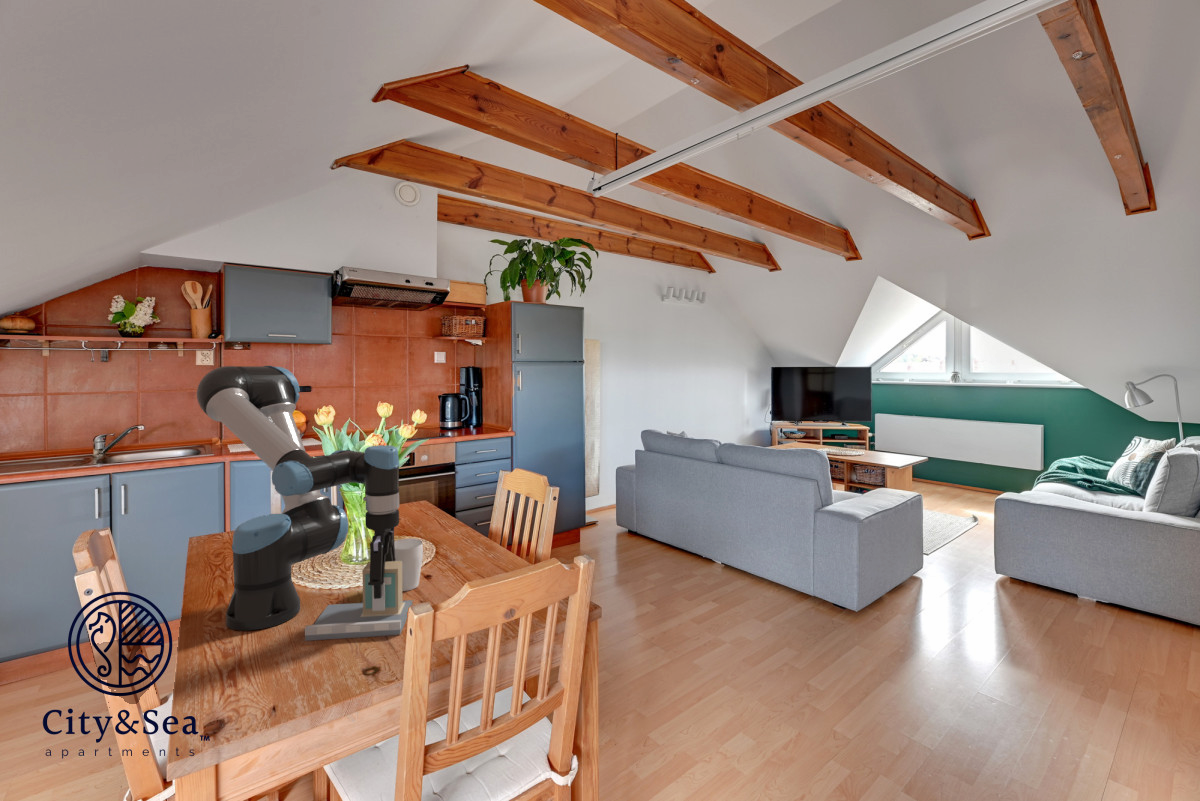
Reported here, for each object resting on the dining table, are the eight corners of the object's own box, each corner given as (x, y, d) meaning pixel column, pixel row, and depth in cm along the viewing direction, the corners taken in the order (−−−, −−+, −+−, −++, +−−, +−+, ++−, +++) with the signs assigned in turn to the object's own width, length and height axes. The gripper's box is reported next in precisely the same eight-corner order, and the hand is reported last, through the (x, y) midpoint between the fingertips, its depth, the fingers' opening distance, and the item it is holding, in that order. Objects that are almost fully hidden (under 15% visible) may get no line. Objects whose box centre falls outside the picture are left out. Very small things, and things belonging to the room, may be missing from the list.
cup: (411, 594, 140) (411, 550, 139) (381, 591, 142) (380, 547, 141) (429, 581, 149) (429, 539, 148) (400, 578, 150) (400, 537, 150)
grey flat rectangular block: (304, 641, 116) (304, 628, 116) (328, 609, 131) (328, 597, 131) (400, 635, 119) (399, 622, 119) (412, 604, 134) (412, 593, 134)
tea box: (362, 615, 125) (362, 570, 125) (368, 605, 130) (368, 562, 130) (398, 613, 127) (397, 569, 126) (402, 603, 132) (402, 560, 131)
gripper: (377, 499, 137) (377, 584, 138) (352, 523, 116) (354, 623, 118) (407, 498, 138) (407, 583, 139) (388, 522, 117) (389, 621, 119)
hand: (383, 601), depth 129 cm, fingers open, 8 cm apart
